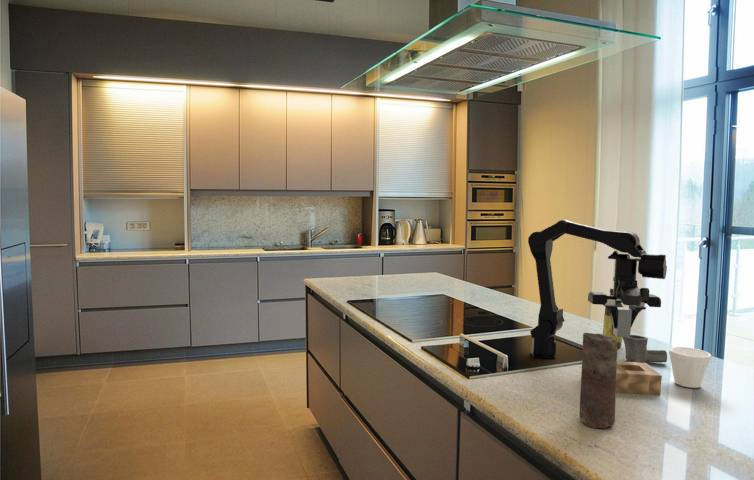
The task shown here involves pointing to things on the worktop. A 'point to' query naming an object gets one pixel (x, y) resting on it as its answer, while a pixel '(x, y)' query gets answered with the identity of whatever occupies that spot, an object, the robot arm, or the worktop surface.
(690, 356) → the cup
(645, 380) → the socket block
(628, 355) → the pipe
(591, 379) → the brown stone pillar
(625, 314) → the square bit
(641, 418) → the worktop surface
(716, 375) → the worktop surface
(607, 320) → the sauce bottle
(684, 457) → the worktop surface
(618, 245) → the robot arm
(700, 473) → the worktop surface
